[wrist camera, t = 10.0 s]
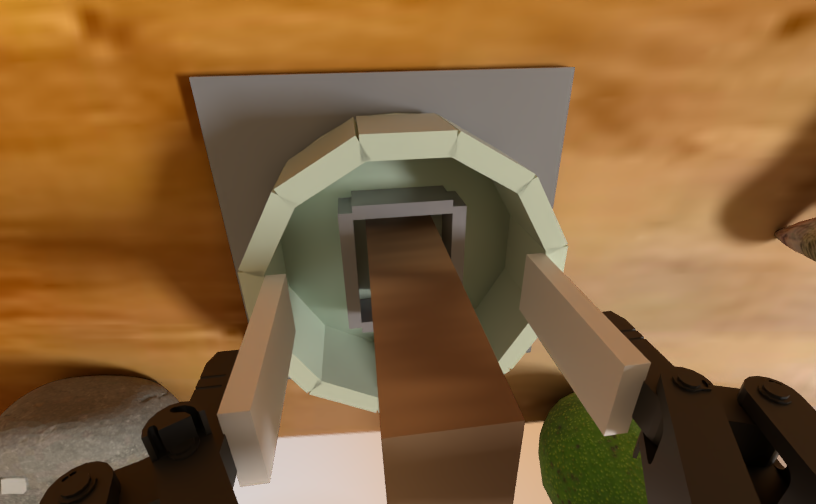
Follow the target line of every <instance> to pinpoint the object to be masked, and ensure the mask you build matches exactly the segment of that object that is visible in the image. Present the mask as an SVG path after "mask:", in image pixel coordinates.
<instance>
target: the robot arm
mask: <svg viewBox="0 0 816 504" xmlns="http://www.w3.org/2000/svg"><path fill="white" fill-rule="evenodd" d="M519 310H520V311H521V313H522V314H523V316H524V317H525V319H526V320H527V322H528V323H529V325H530V326H531V328H532V329H533V331H534V332H535V334H536V335H537V337H538V338H539V340H540V341H541V343H542V344H543V346H544V347H545V349H546V350H547V352H548V353H549V355H550V356H551V358H552V359H553V361H554V362H555V364H556V365H557V367H558V368H559V370H560V371H561V373H562V374H563V376H564V377H565V379H566V380H567V382H568V383H569V385H570V386H571V388H572V389H573V391H574V392H575V394H576V395H577V397H578V398H579V400H580V401H581V403H582V404H583V406H584V407H585V409H586V410H587V412H588V413H589V415H590V416H591V418H592V419H593V421H594V422H595V424H596V425H597V427H598V428H599V430H600V431H601V433H602V434H603V436H608V435H616V434H623V433H628V430H629V427H630V424H631V421H632V418H633V420H634V421H635V422H636V423H637V425H638V426H639V427H640V429H641V431H640V434H639V437H638V440H637V442H636V445H635V448H634V451H633V457H632V458H636V459H637V456H638V453H639V452H640V454H641V460H642V467H643V474H644V481H645V488H646V495H647V501H648V504H816V411H815V410H814V408H813V407H812V406H811V405H810V404H809V403H808V402H807V401H806V400H805V399H804V398H803V397H802V396H801V395H800V394H798V393H797V392H796V391H795V390H794V389H792V388H791V387H789V386H787V385H785V384H783V383H781V382H779V381H777V380H774V379H771V378H767V377H761V376H752V377H748V378H747V379H745V380H744V382H743V384H742V386H741V388H740V389H738V388H730V387H722V386H714V385H713V384H712V383H711V382H710V381H709V380H708V379H707V378H705V377H704V376H703V375H701V374H699V373H697V372H695V371H693V370H690V369H686V368H683V367H674V366H673V365H672V364H671V363H670V362H669V361H668V360H667V359H666V358H665V357H664V356H663V355H662V354H661V353H660V352H659V351H658V350H657V349H656V348H654V347H653V346H652V345H651V344H650V343H649V342H648V341H647V340H646V339H644V337H643V336H642V335H641V334H640V333H639V332H638V331H636V330H635V328H634V327H633V326H632V325H631V324H630V323H629V322H628V321H627V320H626V319H624V318H622V317H620V316H619V315H617V314H615V313H613V312H612V311H606V312H601V311H600V310H599V309H598V308H597V307H596V306H595V305H594V304H593V303H592V302H591V301H590V300H589V299H588V298H587V297H586V296H585V294H584V293H583V292H582V291H581V290H580V289H579V288H578V287H577V286H576V285H575V284H574V283H573V282H572V281H571V280H570V279H569V278H568V277H567V276H566V275H565V274H564V273H563V272H562V271H561V270H560V269H559V268H558V267H557V266H556V265H555V264H554V263H553V262H552V261H551V260H550V258H549V257H548V256H547V255H545V253H535V254H526V261H525V268H524V276H523V283H522V291H521V299H520V306H519ZM295 333H296V329H295V323H294V318H293V312H292V306H291V301H290V295H289V290H288V284H287V278H286V274H278V275H266V276H265V278H264V281H263V283H262V286H261V289H260V292H259V295H258V298H257V301H256V304H255V306H254V309H253V312H252V315H251V318H250V321H249V324H248V326H247V329H246V332H245V335H244V338H243V341H242V344H241V347H240V349H239V350H232V351H222V352H217V353H216V354H215V355H214V356H213V357H212V358H211V359H210V360H209V361H208V362H207V363H206V365H205V367H204V370H203V372H202V374H201V377H200V380H199V381H198V383H197V386H196V390H194V393H193V395H192V397H191V399H190V401H188V402H179V403H175V404H172V405H169V406H167V407H165V408H164V409H162V410H160V411H158V412H157V413H156V414H155V415H154V416H152V417H151V418H150V419H149V420H148V421H147V423H146V424H145V426H144V428H143V429H142V435H141V440H142V442H143V444H144V446H145V448H146V450H147V452H148V455H149V457H147V458H145V459H143V460H140V461H138V462H135V463H132V464H130V465H127V466H125V467H122V468H119V469H117V470H113V468H112V467H111V466H110V465H109V464H108V463H106V462H101V461H94V462H89V463H85V464H82V465H80V466H78V467H75V468H73V469H71V470H70V471H68V472H67V473H65V474H64V475H62V476H61V477H59V478H58V479H57V480H56V481H55V482H54V483H53V484H52V485H51V486H50V487H49V488H48V489H47V491H46V492H45V494H44V496H43V497H42V499H41V501H40V503H39V504H238V502H237V499H236V497H235V494H234V491H233V486H234V482H235V478H236V475H237V478H238V481H239V484H240V487H243V486H250V485H257V484H265V483H270V479H271V473H272V467H273V461H274V455H275V449H276V443H277V438H278V432H279V426H280V420H281V415H282V409H283V403H284V397H285V391H286V386H287V380H288V374H289V368H290V362H291V357H292V351H293V345H294V339H295ZM778 455H780V456H781V457H782V458H783V460H784V461H785V463H786V464H787V467H786V468H784V467H783V466H782V465H781V463H780V462H779V461H778V460H777V457H778Z"/></svg>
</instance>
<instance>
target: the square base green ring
mask: <svg viewBox="0 0 816 504" xmlns="http://www.w3.org/2000/svg"><path fill="white" fill-rule="evenodd" d="M574 70H575V67H533V68H494V69H454V70H415V71H375V72H336V73H297V74H257V75H218V76H192V77H189V80H190V84H191V88H192V92H193V96H194V100H195V105H196V109H197V113H198V117H199V121H200V125H201V129H202V134H203V138H204V142H205V146H206V150H207V154H208V158H209V163H210V167H211V171H212V175H213V179H214V183H215V187H216V192H217V196H218V200H219V204H220V208H221V212H222V216H223V220H224V225H225V229H226V233H227V237H228V241H229V245H230V249H231V254H232V258H233V262H234V266H235V270H236V274H237V278H238V283H239V287H240V291H241V295H242V299H243V303H244V307H245V312H246V316H247V320H248V324H249V321H250V318H251V315H252V312H253V309H254V306H255V304H256V301H257V298H258V295H259V292H260V289H261V286H262V283H263V281H264V278H265V276H266V275H278V274H286V278H287V284H288V290H289V295H290V301H291V306H292V312H293V318H294V323H295V329H296V333H295V339H294V345H293V351H292V357H291V362H290V368H289V374H288V379H292V380H293V381H294V382H295V383H297V384H298V385H299V386H300V387H301V388H302V389H303V390H304V391H305V392H306V393H308V392H309V394H310V395H314V396H317V397H321V398H324V399H328V400H332V401H335V402H339V403H342V404H346V405H350V406H353V407H357V408H360V409H364V410H368V411H371V412H375V413H376V412H377V410H378V413H379V400H378V387H377V373H376V359H375V345H374V332H373V318H372V304H371V291H370V277H369V263H368V249H367V236H366V222H365V219H377V218H392V217H406V216H421V215H431V217H432V219H433V222H434V224H435V226H436V228H437V230H438V232H439V235H440V237H441V239H442V241H443V243H444V246H445V248H446V250H447V252H448V254H449V256H450V259H451V261H452V263H453V265H454V267H455V269H456V272H457V274H458V276H459V278H460V280H461V282H462V285H463V287H464V289H465V291H466V293H467V296H468V298H469V300H470V302H471V304H472V306H473V309H474V311H475V313H476V315H477V317H478V319H479V322H480V324H481V326H482V328H483V330H484V332H485V335H486V337H487V339H488V341H489V343H490V346H491V348H492V350H493V352H494V354H495V356H496V359H497V361H498V363H499V365H500V367H501V369H502V372H503V374H505V373H507V372H509V371H510V370H509V368H510V369H513V368H514V366H515V365H516V364H517V363H518V361H519V360H520V359H521V358H522V356H523V355H524V354H525V353H528V352H531V345H532V344H533V342H534V341H535V340H536V339H537V335H536V334H535V332H534V331H533V329H532V328H531V326H530V325H529V323H528V322H527V320H526V319H525V317H524V316H523V314H522V313H521V311H520V310H519V306H520V299H521V291H522V283H523V276H524V268H525V261H526V254H535V253H545V255H547V256H548V257H549V258H550V260H551V261H552V262H553V263H554V264H555V265H556V266H557V267H558V268H559V269H560V270H561V271H562V272H563V271H564V265H565V260H566V255H567V249H568V246H567V245H566V244H568V243H567V241H566V239H565V236H564V234H563V232H562V230H561V228H560V225H559V223H558V221H557V219H556V216H555V214H554V212H553V204H554V198H555V192H556V185H557V179H558V172H559V166H560V160H561V153H562V147H563V140H564V134H565V128H566V121H567V115H568V108H569V102H570V96H571V89H572V83H573V76H574Z"/></svg>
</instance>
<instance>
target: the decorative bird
mask: <svg viewBox="0 0 816 504" xmlns="http://www.w3.org/2000/svg"><path fill="white" fill-rule="evenodd" d="M775 236H776V237H777V238H778V239H779V240H780V241H781V242H782V243H783V244H785V245H786V246H788V247H789V248H791V249H793V250H794V251H796V252H798V253H801V254H803V255H805V256H806V257H808V258H810V259H812V260H814V261H816V218H812V219H809V220H805V221H801V222H798V223H796V224H794V225H791V226H788V227H786V228H783V229H780V230H778V231H776V233H775Z"/></svg>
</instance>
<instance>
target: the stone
mask: <svg viewBox="0 0 816 504" xmlns="http://www.w3.org/2000/svg"><path fill="white" fill-rule="evenodd" d="M161 383H162V382H161ZM175 403H179V401H178V400H177V399H176V398H175V397H174V396H173V395H172V394H171V393H170V392H169V391H167V390H166V389H165V388H164V387H163V386H161V385H159V384H158V383H157V382H156V381H152V380H147V379H143V378H137V377H127V376H110V375H101V376H82V377H74V378H67V379H61V380H57V381H53V382H50V383H48V384H45V385H43V386H41V387H39V388H36V389H35V390H33V391H31V392H29V393H27V394H26V395H24V396H23V397H21V398H20V399H18V400H17V401H16V402H14V403H13V404H12V405H11V406H10V407H9V408H7V409H6V410H5V411H4V412H3V413H2V414H1V416H0V504H39V503H40V501H41V499H42V497H43V496H44V494H45V492H46V491H47V489H48V488H49V487H50V486H51V485H52V484H53V483H54V482H55V481H56V480H57V479H58V478H59V477H61V476H62V475H64V474H65V473H67V472H68V471H70V470H71V469H73V468H75V467H78V466H80V465H82V464H85V463H89V462H94V461H101V462H106V463H108V464H109V465H110V466H111V467H112V468H113V470H117V469H119V468H122V467H125V466H127V465H130V464H132V463H135V462H138V461H140V460H143V459H145V458H147V457H149V455H148V452H147V450H146V448H145V446H144V444H143V442H142V440H141V435H142V429H143V428H144V426H145V424H146V423H147V421H148V420H149V419H150V418H151V417H152V416H154V415H155V414H156V413H157V412H158V411H160V410H162V409H164V408H165V407H167V406H169V405H172V404H175Z"/></svg>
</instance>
